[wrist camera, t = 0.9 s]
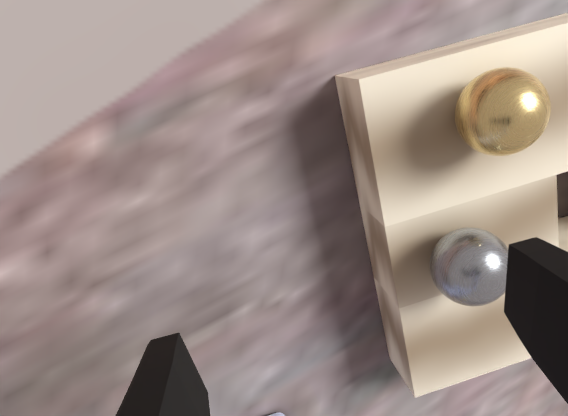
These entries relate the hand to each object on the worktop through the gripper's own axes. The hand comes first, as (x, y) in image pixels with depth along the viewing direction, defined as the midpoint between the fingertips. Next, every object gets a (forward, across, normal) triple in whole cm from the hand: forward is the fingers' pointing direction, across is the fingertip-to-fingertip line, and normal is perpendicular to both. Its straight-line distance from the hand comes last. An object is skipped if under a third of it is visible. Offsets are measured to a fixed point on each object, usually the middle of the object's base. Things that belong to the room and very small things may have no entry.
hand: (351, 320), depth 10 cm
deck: (+14, -11, +8) cm, 19 cm away
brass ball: (+9, -9, +1) cm, 13 cm away
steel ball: (+8, -7, +7) cm, 13 cm away
